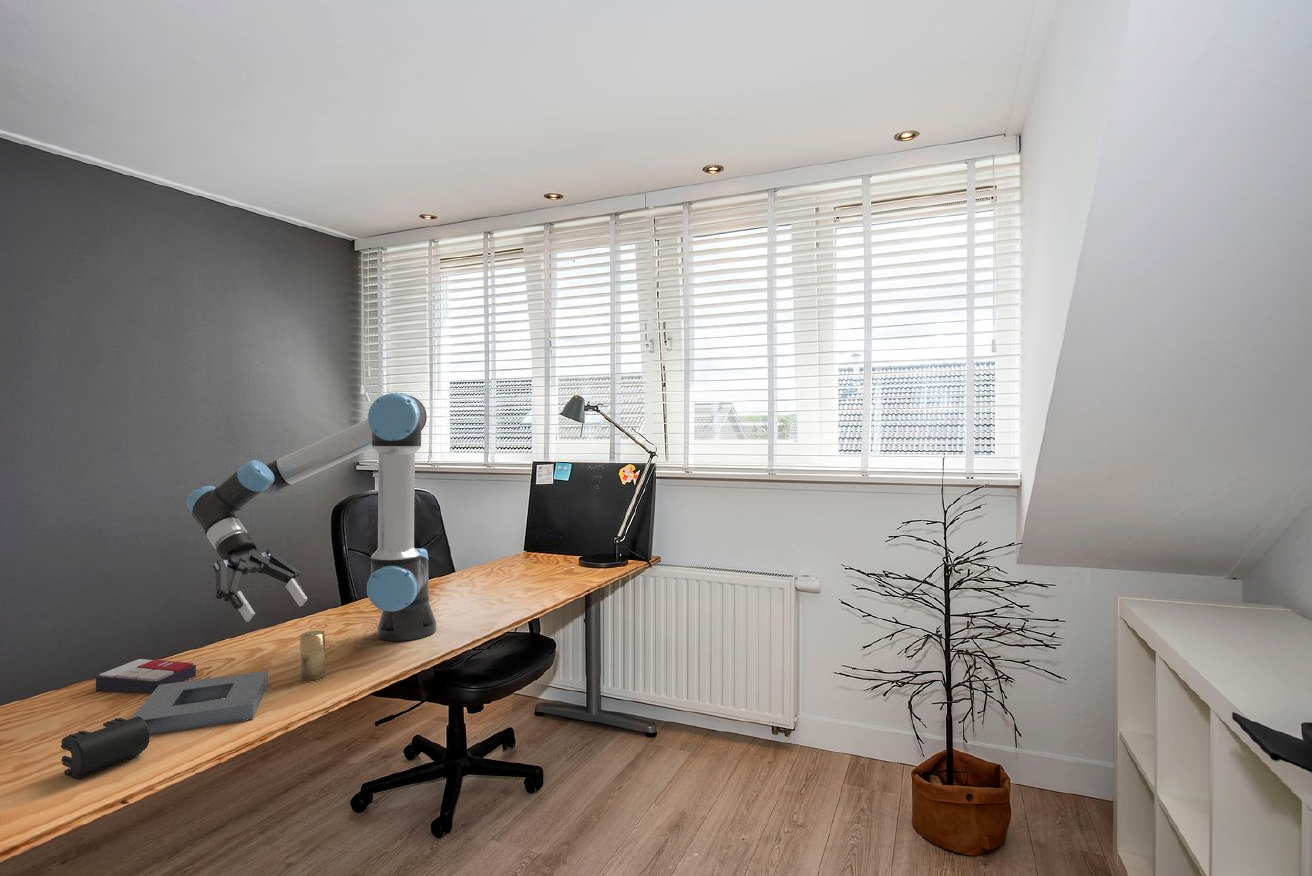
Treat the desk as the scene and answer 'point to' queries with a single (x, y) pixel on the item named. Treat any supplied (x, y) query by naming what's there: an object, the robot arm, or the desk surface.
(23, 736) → the desk surface
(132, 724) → the end cap
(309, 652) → the metal cylinder
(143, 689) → the calculator
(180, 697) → the frame
